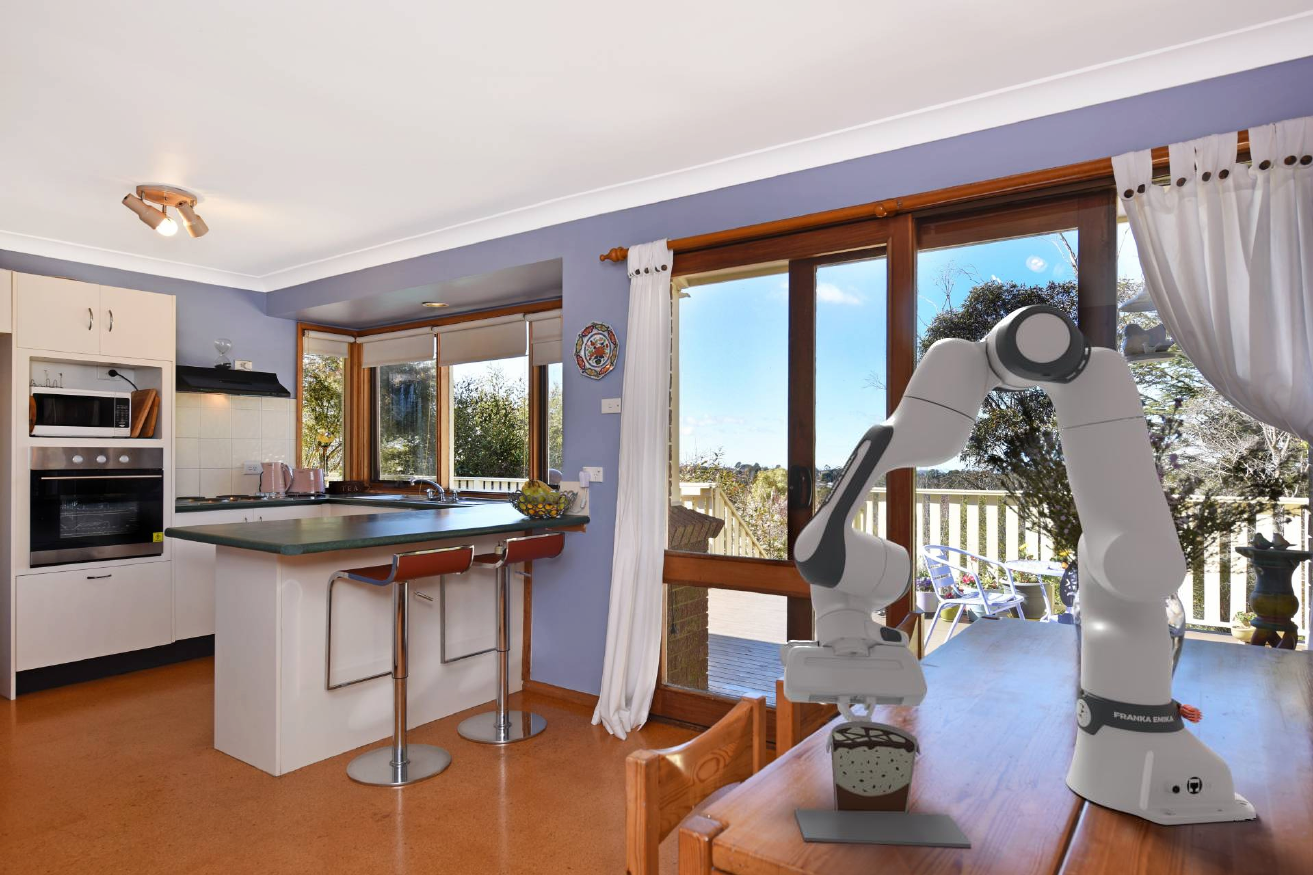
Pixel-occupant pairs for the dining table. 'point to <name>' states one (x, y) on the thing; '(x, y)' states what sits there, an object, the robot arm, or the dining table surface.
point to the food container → (872, 766)
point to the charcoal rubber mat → (879, 828)
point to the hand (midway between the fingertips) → (861, 730)
